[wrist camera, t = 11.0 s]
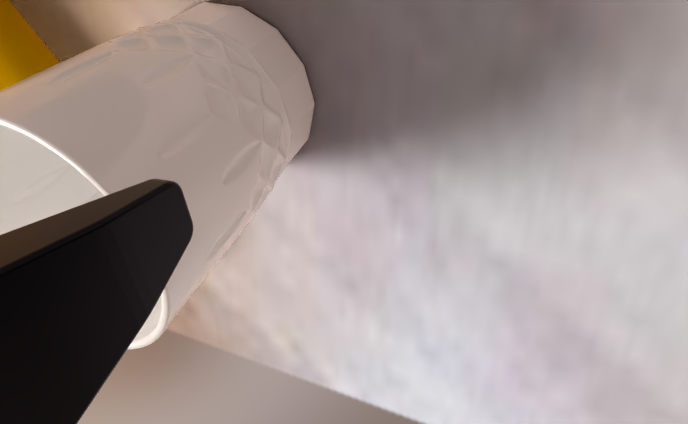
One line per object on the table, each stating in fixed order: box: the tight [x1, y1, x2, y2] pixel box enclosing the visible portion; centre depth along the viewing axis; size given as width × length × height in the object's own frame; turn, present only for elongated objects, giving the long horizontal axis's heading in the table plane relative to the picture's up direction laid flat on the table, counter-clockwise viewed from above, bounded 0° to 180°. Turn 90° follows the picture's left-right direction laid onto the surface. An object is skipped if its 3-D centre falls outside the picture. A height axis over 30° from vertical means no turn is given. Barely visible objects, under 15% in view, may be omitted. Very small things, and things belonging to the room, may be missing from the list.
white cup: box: [0, 2, 315, 350], centre depth 20 cm, size 8×8×10 cm
